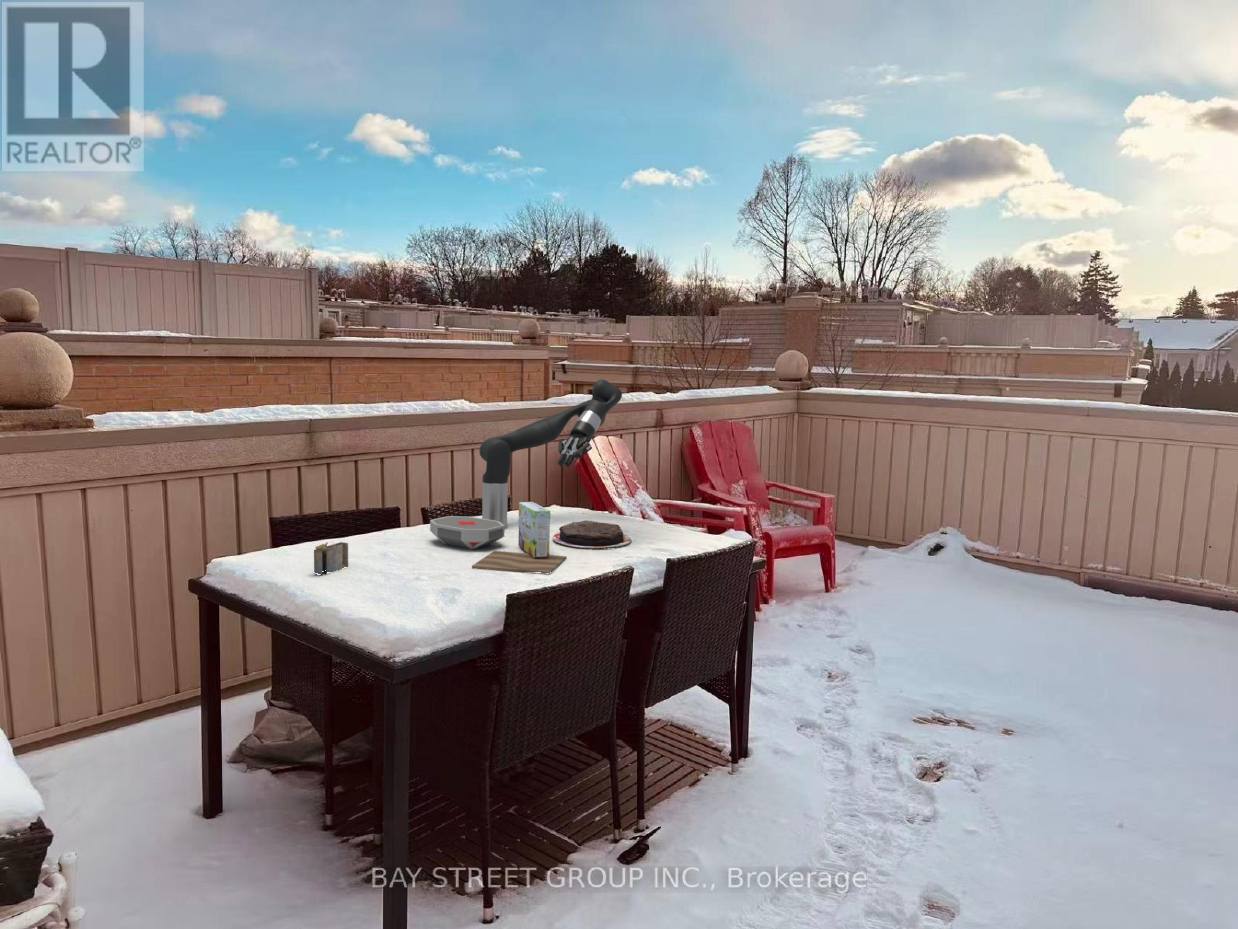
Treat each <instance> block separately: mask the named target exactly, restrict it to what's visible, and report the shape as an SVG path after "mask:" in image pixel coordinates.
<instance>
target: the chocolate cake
mask: <svg viewBox="0 0 1238 929" xmlns="http://www.w3.org/2000/svg"><path fill="white" fill-rule="evenodd" d="M558 531H559V532H557V533H555V534H553V535H552V537H551V538H552V540H553V542H554V543H555V544H557V545H558V544H560V545H559V546H563V545H564V546H563V547H568V548H569V547H570V548H572V549H574V548H575V549H580V548H583V550H589V549H592V550H605V549H604V548H615V549H618V548H617V547H619V548H621V547H620V546H622V547H624V546H623V545H625V546H626V544H628V545H629V544H631V543H632V538H631V537H630V536H629V535H627V534H624V531H623V530H622V528H621V527H620V525H619V524H615V523H609V522H601V521H592V520H581V521H573V522H570V523H566V524H565V525H562V526H560V527H559V528H558Z"/></svg>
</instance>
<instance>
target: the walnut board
mask: <svg viewBox="0 0 1238 929" xmlns="http://www.w3.org/2000/svg"><path fill="white" fill-rule="evenodd" d="M565 559H566V560H567V556H566V555H557V554H556V555H555V554H553V555H552V554H549V557H542V558H534V557H532V556H531V555H530V554H529V553H527V552H515V551H501V550H500V551H499V550H494V551H491V552H490V553H489V554H487V555H485V556H484V557H483V558H481V559H479V560H478V561H477V562H475V563H473V564H472V565H471V569H474V568H477V570H487V569H488V571H502V572H511V573H512V572H513V573H524V572H541V573H550V572H552V571H553V570H554V569H555V568H556V567H557V566H558V565H559V566H560V565H562V564H563V563H562V561H564V560H565ZM566 560H565V561H566ZM565 561H564V562H565ZM559 566H558V567H559ZM558 567H557V568H558ZM557 568H556V569H557ZM556 569H555V570H556ZM555 570H554V571H555ZM554 571H553V572H554ZM553 572H552V573H553Z"/></svg>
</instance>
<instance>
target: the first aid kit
mask: <svg viewBox="0 0 1238 929" xmlns="http://www.w3.org/2000/svg"><path fill="white" fill-rule="evenodd" d="M429 531H430V532H431V533H432V534H433V535H434V536H435V537H436V538H437V539H438V540H439V542H441V543H442V544H443V545H449V544H451V545H450V546H454V545H455V546H456V547H462V548H465V549H470V550H475V549H478V548H482V547H486V546H490V545H492V544H495V543H496V542H497V541H499V540H501V539H503V538H504V537H505V532H506V531H505V525H503V524H502V523H500V522H499V521H494V520H488V519H482V517H476V516H475V517H474V516H463V515H462V516H460V515H459V516H457V515H456V516H454V515H453V516H452V515H451V516H450V515H448V516H443V517H439V518H438V517H437V518H434V519H430V520H429Z"/></svg>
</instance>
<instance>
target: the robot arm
mask: <svg viewBox="0 0 1238 929" xmlns="http://www.w3.org/2000/svg"><path fill="white" fill-rule="evenodd" d="M591 390H592V391H591V395H592V398H591V399H589V400H585V401H582V402H580V403H579V404H578V403H577V404H576V405H574V406H572V407H570V408H568V409H566V410H563V411H561V412H559V413H556V414H553V415H550V416H547V417H544V418H542V419H539V420H536V421H534V422H532V423H530V424H527V425H525V426H522V427H520V428H517V429H515V430H513V431H510V432H508V433H505V434H502V435H498V436H493V437H490V438H488V439H486V440H484V441H483V442H482V443H481V445H480V447H479V456H480V457H481V458H482V460H484V461H485V462H486V469H485V472H484V473H483V475H482V492H481V493H482V502H481V503H482V505H481V506H482V507H481V508H482V509H481V510H482V511H481V514H482V515H481V518H482V519H488V520H494V521H499V522H500V523H502V524H503V525H505V529H506V530H507V528H508V497H509V496H508V493H509V492H508V489H509V488H508V487H509V486H508V484H509V481H508V480H509V476H510V474H511V472H510V471H511V457H512V455H511V454H512V453H514V452H516V451H520V450H527V449H531V448H532V449H533V448H537V447H540V446H543V445H546V444H550V443H551V442H554V441H555V440H557V439H558V437H560V435H561V433H562V432H563V430H564V429H565V427H566V425H567V424H569V422H570V420H571V419H572V418H573V417H576V416H577V417H578V419H577V420H576V422H575V424H574V425H573V427H572V428H571V430H570V435H569V436H568V437H567V438H566V439H565V440H564V439H559V440H558V449H557V451H558V453H559V454H560V456H559V457H558V460H557V464H558V466H559V467H563V466H565V467H566V468H570V466H571V465H572V463H573V462H574V461H575V460H576V459H581V458H582V457H584V456H585V455H586V454H587V453H588V452H590V451H591V450H592V449H593V447H592V445H591V444H590V443H591V441H592V439H593V437H594V435H595V434H596V433H597V430H599V428H600V427H601V426H602V425H603V424H604V423H605V421H606V416H607V414H608V413H609V412H610V410H612V409H613V408H614V407H615V406H616V405H617V404H618V403H620V401H621V399H622V397H623V393H622V390H621V389H620V388H619V387H617V386H615V385H614V384H613V383H611V382H609V381H608V380H606V379H599V380H597V381H596V382H595V383H594V384H593V386H592V389H591Z"/></svg>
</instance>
